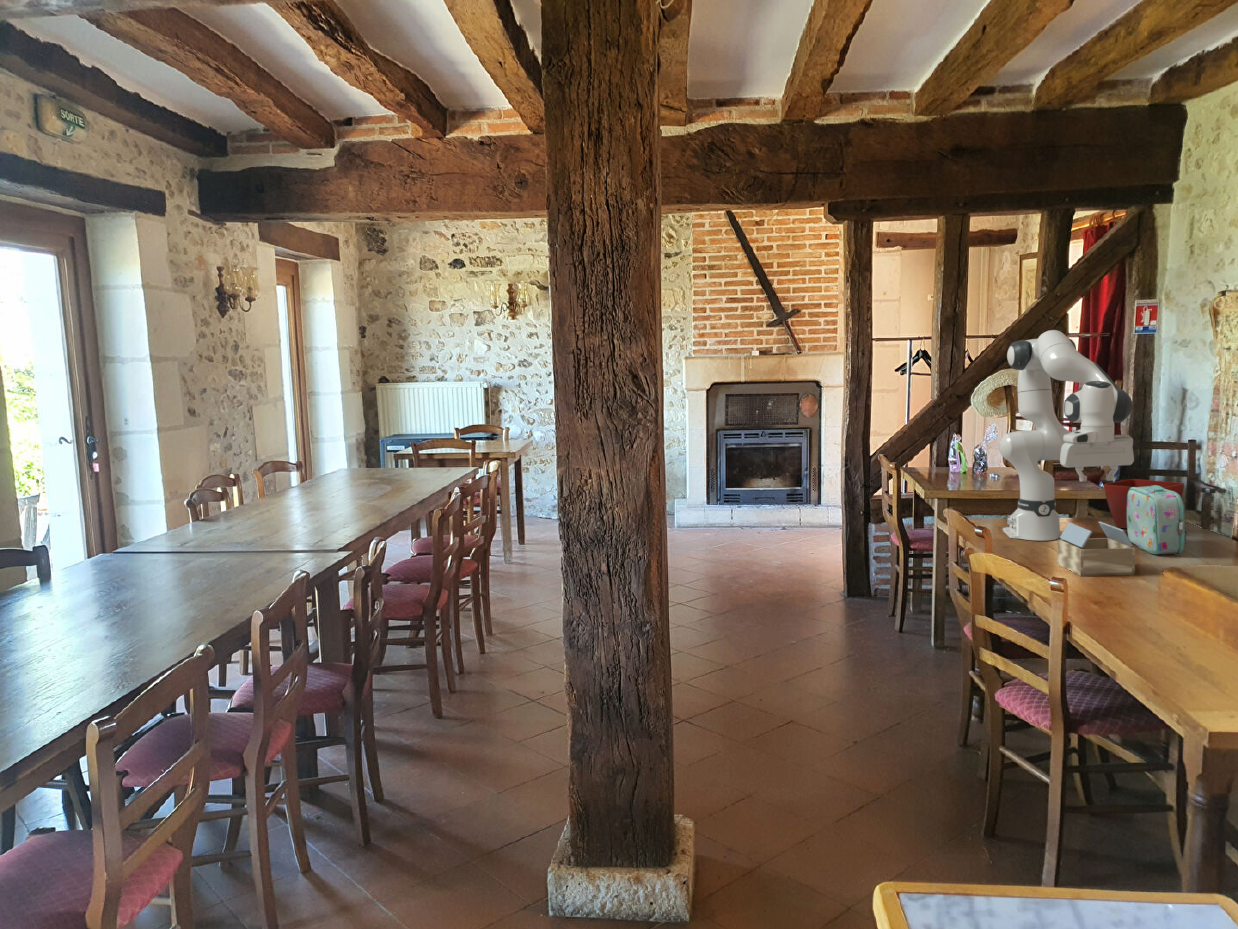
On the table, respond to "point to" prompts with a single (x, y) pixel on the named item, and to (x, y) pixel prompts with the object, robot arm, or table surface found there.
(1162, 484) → the plant pot
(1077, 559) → the crate
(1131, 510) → the lunch box
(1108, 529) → the flap
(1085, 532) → the flap
